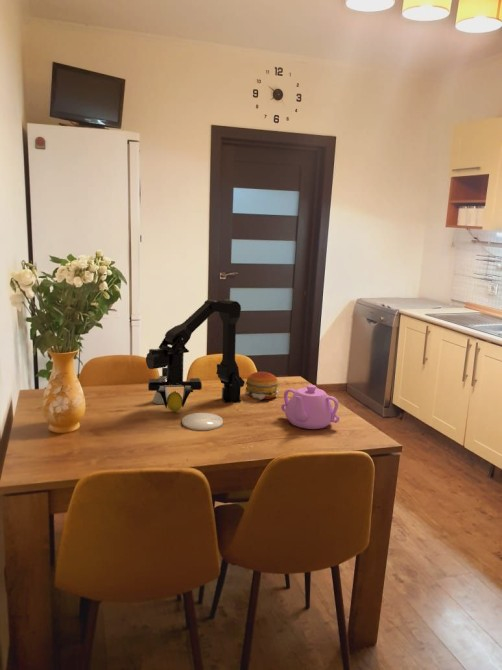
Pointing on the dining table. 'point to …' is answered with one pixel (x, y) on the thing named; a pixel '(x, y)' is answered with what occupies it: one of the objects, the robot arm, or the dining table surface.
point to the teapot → (310, 408)
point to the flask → (157, 396)
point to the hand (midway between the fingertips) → (174, 407)
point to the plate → (202, 421)
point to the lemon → (174, 401)
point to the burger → (262, 385)
